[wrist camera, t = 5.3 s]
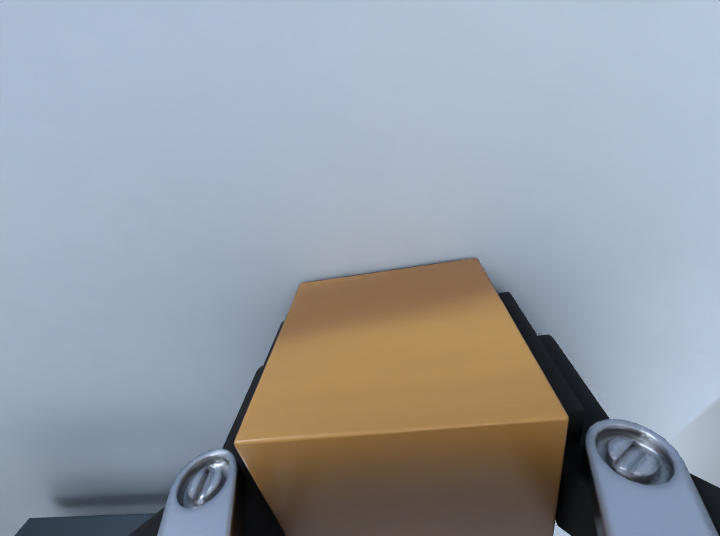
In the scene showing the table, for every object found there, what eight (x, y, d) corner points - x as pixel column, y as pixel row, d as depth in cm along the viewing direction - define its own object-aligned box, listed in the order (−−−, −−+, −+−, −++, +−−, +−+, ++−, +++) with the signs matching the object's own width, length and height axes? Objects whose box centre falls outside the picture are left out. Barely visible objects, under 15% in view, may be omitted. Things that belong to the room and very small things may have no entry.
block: (299, 282, 10) (231, 444, 5) (477, 257, 9) (571, 417, 5) (338, 402, 12) (312, 585, 7) (482, 388, 11) (548, 582, 7)
